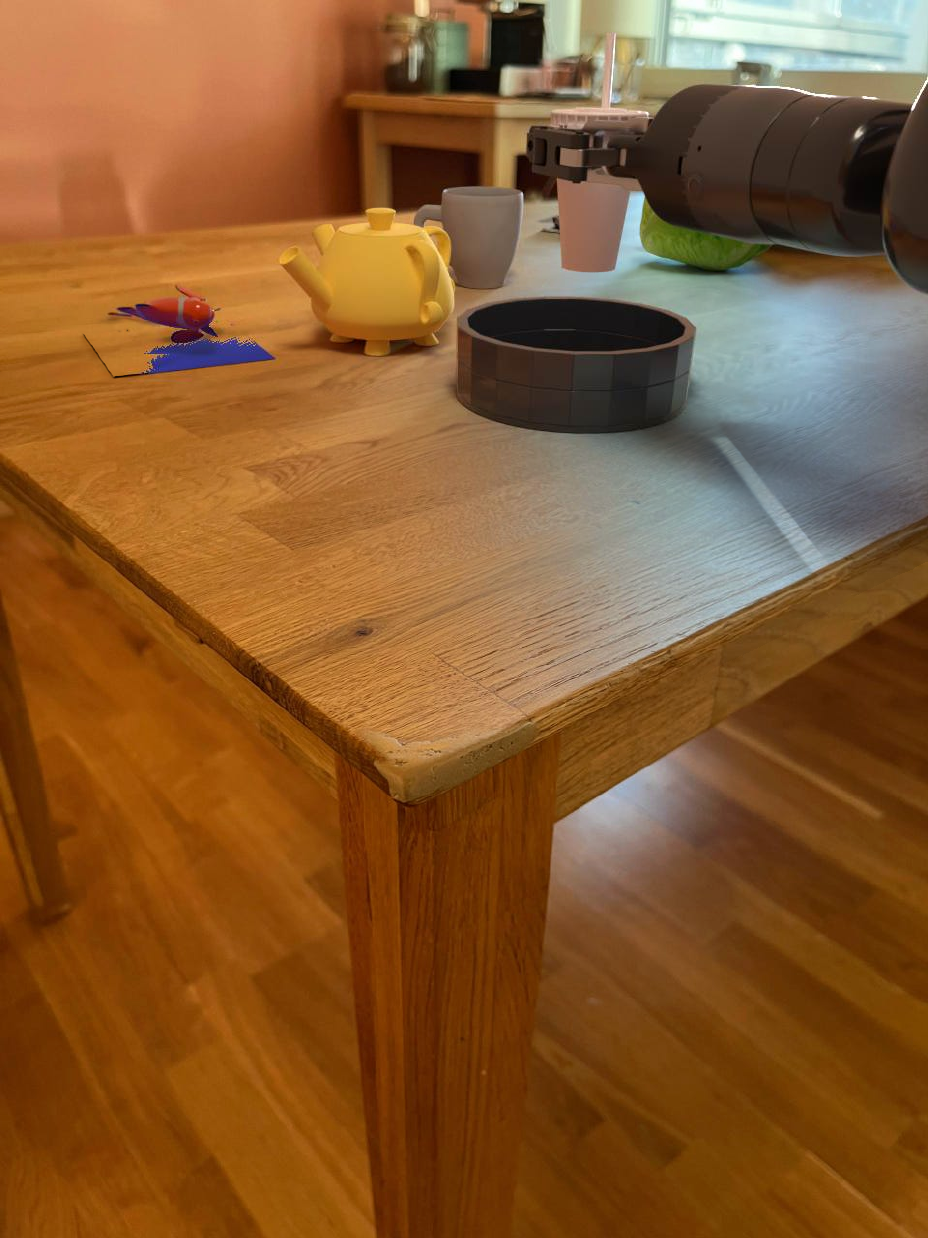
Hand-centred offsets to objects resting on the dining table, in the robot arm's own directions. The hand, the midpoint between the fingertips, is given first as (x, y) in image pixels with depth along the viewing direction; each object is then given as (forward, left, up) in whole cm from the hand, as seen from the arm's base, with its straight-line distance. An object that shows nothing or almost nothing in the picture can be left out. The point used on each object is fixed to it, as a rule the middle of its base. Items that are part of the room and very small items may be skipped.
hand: (577, 142), depth 66 cm
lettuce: (-25, -52, -18) cm, 60 cm away
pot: (-1, -1, -18) cm, 18 cm away
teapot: (+15, -17, -18) cm, 29 cm away
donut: (-13, -80, -18) cm, 83 cm away
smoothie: (-1, +2, -8) cm, 8 cm away
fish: (+32, -15, -18) cm, 40 cm away
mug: (+5, -42, -18) cm, 46 cm away
